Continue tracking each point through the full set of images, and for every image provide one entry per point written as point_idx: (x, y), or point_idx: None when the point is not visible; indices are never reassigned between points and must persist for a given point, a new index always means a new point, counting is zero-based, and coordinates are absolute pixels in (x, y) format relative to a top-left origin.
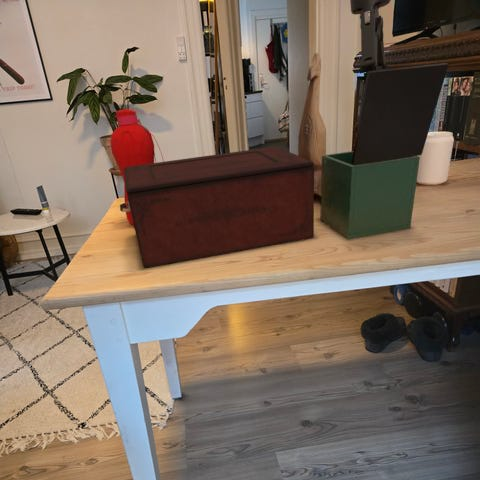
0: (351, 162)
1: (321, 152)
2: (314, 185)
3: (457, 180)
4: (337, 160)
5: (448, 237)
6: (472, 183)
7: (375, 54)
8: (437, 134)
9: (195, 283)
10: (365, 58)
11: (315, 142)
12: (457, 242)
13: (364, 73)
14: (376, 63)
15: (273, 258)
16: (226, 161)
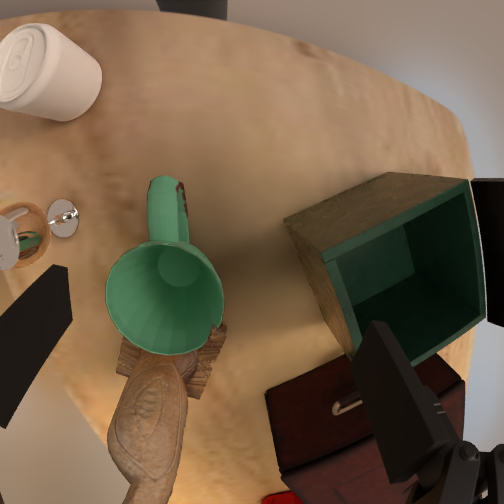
0: (488, 321)
1: (173, 392)
2: (193, 359)
3: (73, 37)
4: (434, 351)
5: (426, 128)
6: (103, 12)
7: (497, 492)
8: (10, 61)
9: (465, 394)
10: (486, 499)
11: (181, 422)
12: (441, 124)
13: (407, 477)
14: (478, 459)
15: (445, 352)
16: (387, 490)
